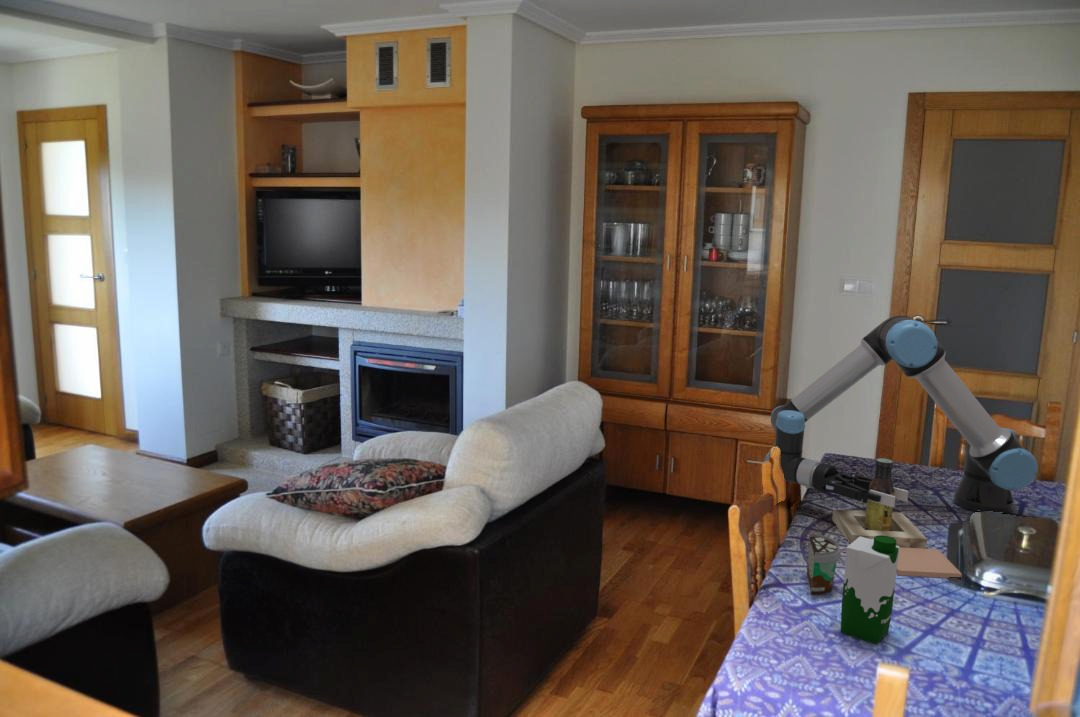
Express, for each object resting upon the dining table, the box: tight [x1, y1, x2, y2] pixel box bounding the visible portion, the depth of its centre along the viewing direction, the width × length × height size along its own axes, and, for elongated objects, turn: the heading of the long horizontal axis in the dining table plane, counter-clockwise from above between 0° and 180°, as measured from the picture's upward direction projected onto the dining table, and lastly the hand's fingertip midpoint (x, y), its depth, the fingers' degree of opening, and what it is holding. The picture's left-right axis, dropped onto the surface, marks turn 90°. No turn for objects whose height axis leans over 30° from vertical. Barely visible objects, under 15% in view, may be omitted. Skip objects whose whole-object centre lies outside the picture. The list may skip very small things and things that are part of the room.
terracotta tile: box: [896, 547, 963, 579], centre depth 201 cm, size 14×14×1 cm
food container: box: [806, 532, 842, 595], centre depth 188 cm, size 12×6×10 cm, turn 168°
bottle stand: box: [831, 509, 928, 549], centre depth 219 cm, size 18×18×3 cm
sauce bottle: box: [864, 457, 895, 531], centre depth 218 cm, size 6×6×20 cm
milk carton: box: [840, 535, 900, 645], centre depth 167 cm, size 9×9×20 cm
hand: (900, 499), depth 214 cm, fingers closed on sauce bottle, 6 cm apart
